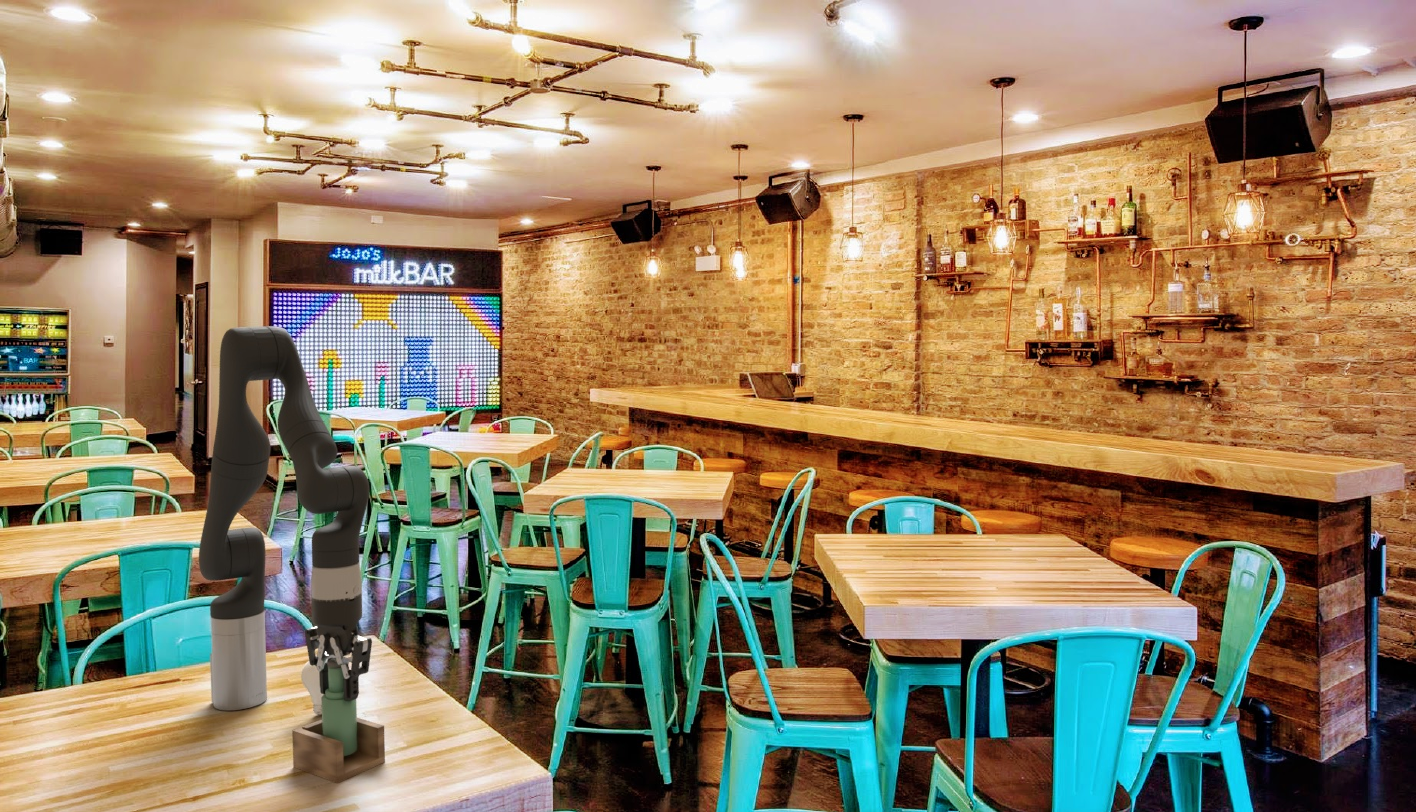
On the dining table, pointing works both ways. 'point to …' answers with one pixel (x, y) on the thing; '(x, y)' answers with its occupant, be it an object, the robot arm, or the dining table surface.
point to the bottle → (339, 711)
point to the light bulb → (313, 686)
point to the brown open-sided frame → (337, 751)
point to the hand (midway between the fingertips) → (339, 695)
